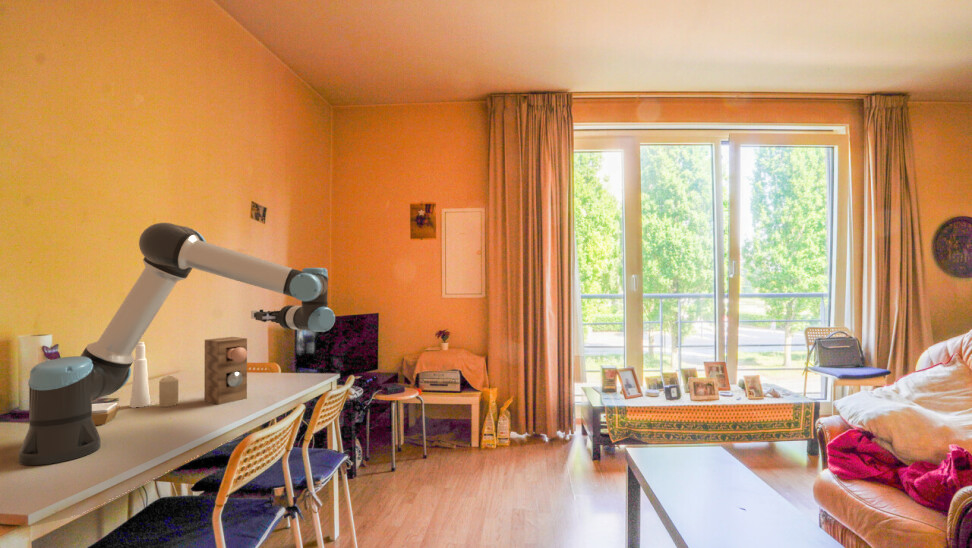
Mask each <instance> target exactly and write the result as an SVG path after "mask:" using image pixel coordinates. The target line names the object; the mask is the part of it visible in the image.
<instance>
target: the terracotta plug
mask: <svg viewBox="0 0 972 548" xmlns="http://www.w3.org/2000/svg"><path fill="white" fill-rule="evenodd" d="M246 357H247V358H248V350H247V351H246V349H244V348H241V347H237V348H235V349H234V348H226V358H228V359H232V360H233V361H234V362H242V361H244V360H245V359H246Z"/></svg>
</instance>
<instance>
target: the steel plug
mask: <svg viewBox="0 0 972 548" xmlns="http://www.w3.org/2000/svg"><path fill="white" fill-rule="evenodd" d="M242 381H243V376H242V374H241V373H239V372H232V373H226V383H227V384H228V385H229V386H232V387H237V386H239V385H240V384H241V383H242Z"/></svg>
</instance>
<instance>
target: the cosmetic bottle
mask: <svg viewBox="0 0 972 548" xmlns="http://www.w3.org/2000/svg"><path fill="white" fill-rule="evenodd" d="M132 367H133V368H132V383H131V384H132V386H131V395H130V401H129V406H128V407H129V408H130V407H131V408H132V409H134V408H135V409H137V408H136V407H139V408H144V406H145V407H148V405H149V406H151V404H152V402H151V397H150V389H149V388H150V387H149V374H148V373H149V372H148V369H149V368H148V360H147V358H146V345H145V341H139V342H138V344H137V346H136V347H135V357H134V361H133V366H132Z"/></svg>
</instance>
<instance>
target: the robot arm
mask: <svg viewBox="0 0 972 548" xmlns="http://www.w3.org/2000/svg"><path fill="white" fill-rule="evenodd" d="M138 247H139V249H140V252H141V254H142V256H143V259H142V263H143V264H144V269H143V271H142V272H141V273H140V275H139V277H138V278H137V280H136V281H135V283H134V285H133V286H132V288H131V289H130V290H129V292H128V294H127V295H126V297H125V299H123V301H122V303H121V305H120V306H119V307H118V309H117V311H116V312H115V314H114V315H113V317H112V319H111V320H110V322H109V323H108V324H107V326H106V328H105V329H104V331H103V332H102V334H101V335H100V337H99V338H98V339H97V341H94V342H92V343H88V344H87V345H86V346H85V348H84V350H83V351H82V353H81V354H80V356H78V355H76V356H65V357H57V358H55V359H54V358H53V359H50V360H45V361H42V362H39V363H38V364H36V365H34V366H33V367H31V370H30V372H29V373H30V374H29V379H28V381H27V382H28V390H29V391H28V398H29V399H28V400H29V405H28V407H29V408H28V411H29V412H28V413H29V414H28V415H29V416H28V417H29V418H28V419H29V420H28V423H29V425H28V430H27V432H26V435H25V438H24V439H23V441H22V445H21V446H20V450H19V451H18V463H19V464H20V465H25V466H42V465H51V464H57V463H62V462H67V461H70V460H74V459H75V460H76V459H78V458H81V457H85V456H87V455H90V454H92V453H94V452H97V451H98V450H99V449H100V448H101V446H102V445H101V442H102V441H101V436H100V433H99V431H98V429H97V427H96V425H95V424H94V422H93V420H92V404H93V401H96V400H99V399H101V398H104V397H107V396H109V395H112V394H114V393H115V392H117V391H119V390H120V389H122V388H123V387H124V386H125V385H126V384H127V382H128V381H129V379H130V378H131V377H130V376H131V375H132V374H131V373H132V368H131V367H132V364H134V360H135V357H134V356H133V351H135V350H136V346H137V344H138V342H141V339H142V337H144V334H145V333H146V331H148V328H149V327H150V325H151V323H152V322H153V320H154V319H155V317H156V316H157V314H158V312H159V311H160V309H161V308H162V306H163V304H165V301H166V300H167V298H168V296H170V294H171V292H172V290H173V289H174V288H175V286H176V284H177V283H178V282H180V281H183V280H186V279H187V278H188V276H189V275H190V274H191V272H192V270H193V269H194V270H198V271H202V272H205V273H209V274H212V275H217V276H220V277H222V278H226V279H228V280H229V279H230V280H234V281H236V282H241V283H244V284H247V285H251V286H254V287H257V288H262V289H264V290H268V291H272V292H275V293H279V294H282V295H285V296H289V297H292V298H294V299H296V300H298V301H300V302H301V305H286V306H283V307H282V308H281V309H280V310H273V311H271V310H268V311H267V310H264V309H259V310H250V319H253V320H254V319H255V321H260V322H263V323H266V322H272V323H275V324H279V325H280V327H282V328H283V329H285V330H296V331H297V330H298V331H299V333H303V331H306V332H307V331H309V332H313V333H317V332H319V333H321V332H322V333H325V332H327V331H329V330H331V329H332V328H333V327H334V324H335V322H336V315H335V313H334V311H333V310H332V309H331V308H329V304H328V302H329V301H328V298H329V297H328V293H329V291H328V289H329V286H328V285H329V277H328V276H329V275H328V269H327V268H326V267H304V268H302V269H301V270H298V269H296V268H292V267H289V266H286V265H282V264H279V263H276V262H272V261H269V260H266V259H263V258H260V257H256V256H252V255H249V254H246V253H242V252H240V251H236V250H234V249H233V250H232V249H229V248H226V247H222V246H220V245H216V244H213V243H209V242H207V241H206V239H205V237H204V236H203V235H202V234H201V233H200V232H198V231H197V230H195V229H193V228H190V227H188V226H183V225H178V224H175V223H171V222H158V223H155V224H152V225H150V226H148V227H146V229H144V230H143V232H142V233H141V234H140V237H139V240H138Z"/></svg>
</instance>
